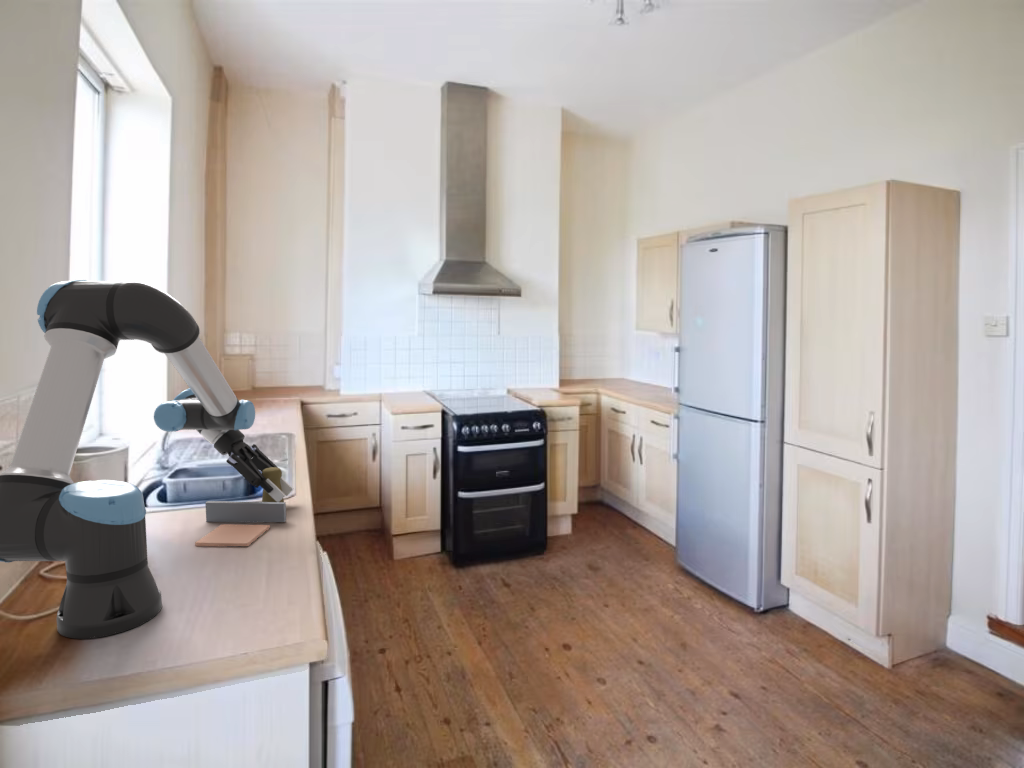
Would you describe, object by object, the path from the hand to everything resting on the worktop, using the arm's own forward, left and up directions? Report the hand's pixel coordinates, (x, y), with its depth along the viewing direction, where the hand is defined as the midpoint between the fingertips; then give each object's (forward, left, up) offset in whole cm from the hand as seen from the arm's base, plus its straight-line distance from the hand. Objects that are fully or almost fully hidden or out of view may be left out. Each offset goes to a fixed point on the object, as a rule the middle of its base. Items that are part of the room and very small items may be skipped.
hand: (286, 495), depth 163 cm
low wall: (-12, +6, -3) cm, 13 cm away
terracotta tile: (-22, +4, -3) cm, 23 cm away
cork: (0, +4, -4) cm, 5 cm away
